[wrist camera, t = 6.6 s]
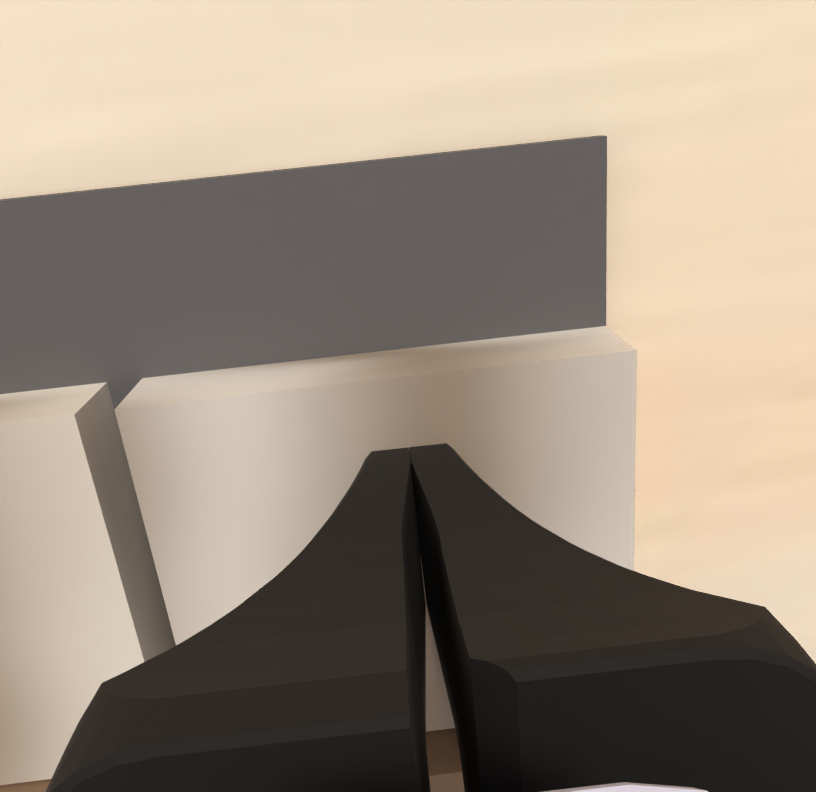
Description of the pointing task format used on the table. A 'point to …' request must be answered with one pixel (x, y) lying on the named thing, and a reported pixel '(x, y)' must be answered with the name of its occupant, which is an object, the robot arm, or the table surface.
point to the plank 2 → (373, 431)
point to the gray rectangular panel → (301, 264)
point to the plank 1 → (67, 571)
